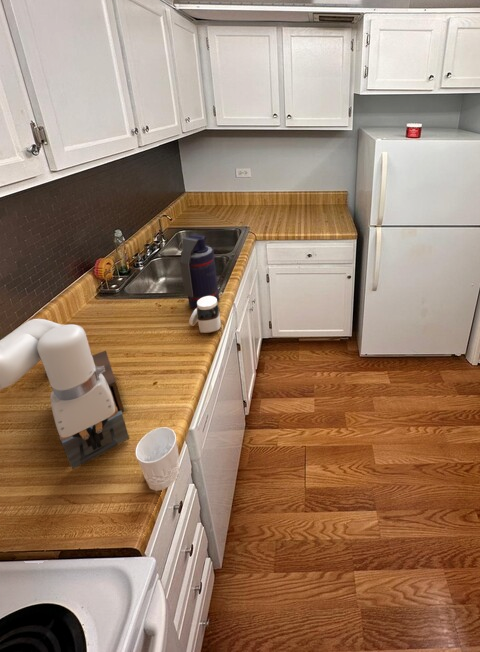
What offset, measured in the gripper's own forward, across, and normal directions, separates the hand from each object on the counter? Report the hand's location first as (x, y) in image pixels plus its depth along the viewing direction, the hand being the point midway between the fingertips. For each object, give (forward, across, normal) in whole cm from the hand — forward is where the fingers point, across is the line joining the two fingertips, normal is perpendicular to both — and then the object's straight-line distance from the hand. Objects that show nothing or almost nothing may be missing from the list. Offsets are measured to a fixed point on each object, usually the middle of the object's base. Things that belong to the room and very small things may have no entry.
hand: (96, 443), depth 74 cm
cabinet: (+6, 0, -20) cm, 21 cm away
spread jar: (+6, -38, -32) cm, 50 cm away
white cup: (+6, -10, +12) cm, 17 cm away
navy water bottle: (+6, -42, -47) cm, 63 cm away
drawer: (+5, 0, -6) cm, 8 cm away
